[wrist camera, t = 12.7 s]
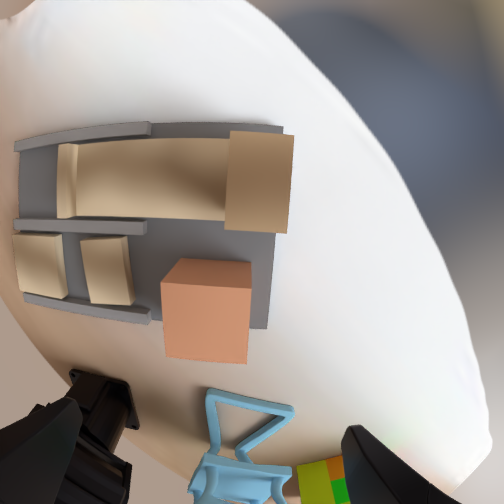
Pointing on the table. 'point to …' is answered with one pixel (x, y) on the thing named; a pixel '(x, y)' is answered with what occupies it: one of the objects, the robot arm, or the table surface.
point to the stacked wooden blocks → (181, 179)
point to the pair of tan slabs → (94, 259)
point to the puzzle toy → (323, 482)
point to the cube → (207, 310)
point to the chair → (239, 458)
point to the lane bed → (136, 226)
